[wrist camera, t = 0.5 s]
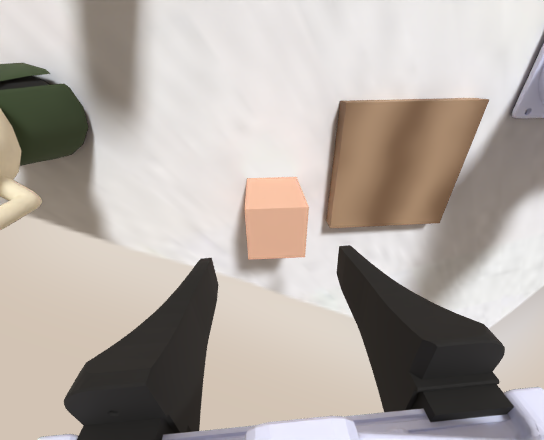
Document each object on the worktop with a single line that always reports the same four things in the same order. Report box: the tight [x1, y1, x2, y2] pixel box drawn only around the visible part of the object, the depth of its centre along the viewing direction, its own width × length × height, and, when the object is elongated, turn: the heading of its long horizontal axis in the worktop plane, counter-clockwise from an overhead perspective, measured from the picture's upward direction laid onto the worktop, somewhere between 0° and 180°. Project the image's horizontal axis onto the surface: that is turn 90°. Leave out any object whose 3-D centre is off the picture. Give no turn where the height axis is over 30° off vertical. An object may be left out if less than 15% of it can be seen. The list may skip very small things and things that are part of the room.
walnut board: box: [326, 98, 489, 228], centre depth 22 cm, size 11×11×2 cm
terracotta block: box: [245, 177, 309, 260], centre depth 21 cm, size 4×4×6 cm
